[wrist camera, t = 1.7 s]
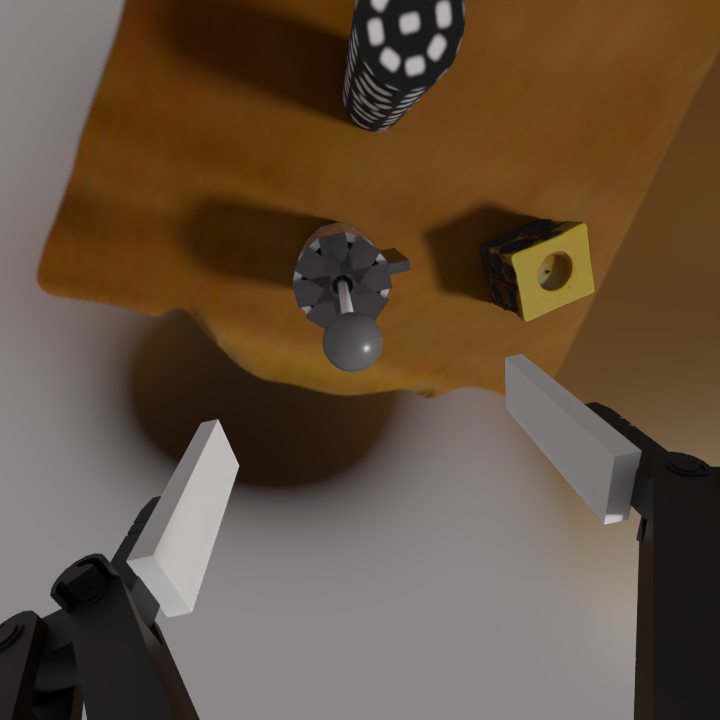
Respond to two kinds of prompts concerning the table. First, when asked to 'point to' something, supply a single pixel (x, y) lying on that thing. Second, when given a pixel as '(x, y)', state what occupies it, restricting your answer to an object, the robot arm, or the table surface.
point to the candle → (539, 267)
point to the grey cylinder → (344, 273)
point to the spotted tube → (398, 56)
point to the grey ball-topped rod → (351, 333)
